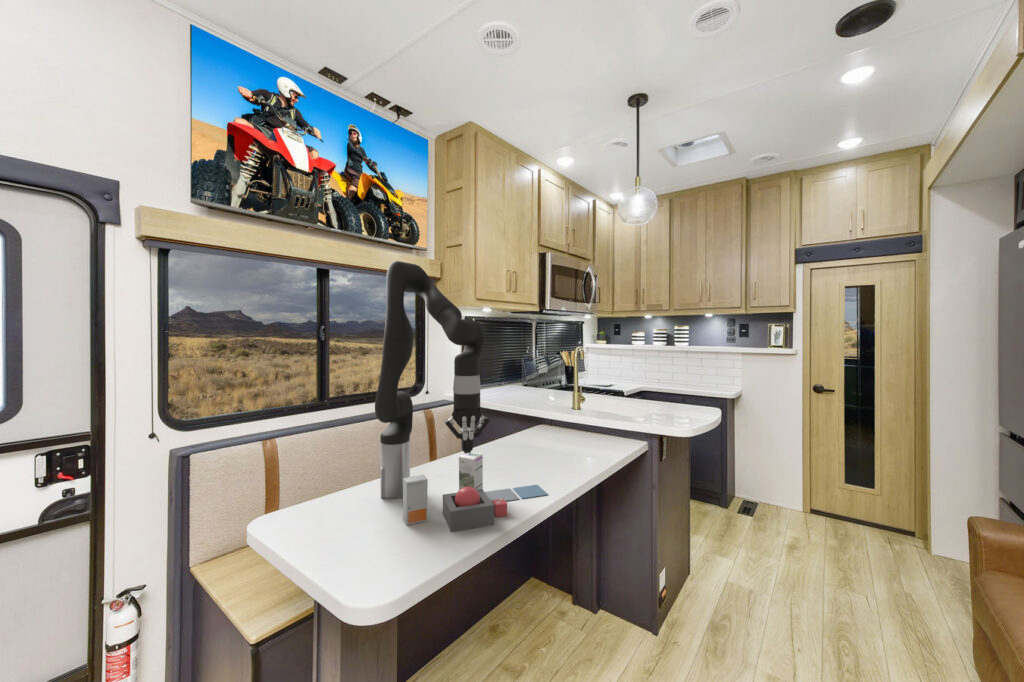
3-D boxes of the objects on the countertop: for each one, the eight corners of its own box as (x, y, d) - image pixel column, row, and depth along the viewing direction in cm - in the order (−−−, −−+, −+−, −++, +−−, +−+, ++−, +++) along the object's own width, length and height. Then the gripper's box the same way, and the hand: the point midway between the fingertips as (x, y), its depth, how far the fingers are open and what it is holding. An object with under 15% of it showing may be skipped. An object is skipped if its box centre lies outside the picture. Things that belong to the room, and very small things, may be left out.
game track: (458, 508, 121) (458, 507, 121) (452, 497, 130) (452, 496, 130) (548, 495, 131) (548, 494, 131) (537, 485, 140) (537, 484, 140)
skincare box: (406, 526, 110) (406, 482, 110) (402, 519, 114) (402, 477, 114) (428, 521, 113) (427, 478, 113) (424, 515, 117) (423, 474, 117)
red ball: (457, 519, 110) (457, 493, 110) (452, 508, 117) (452, 484, 117) (482, 515, 112) (482, 490, 112) (476, 505, 119) (476, 481, 119)
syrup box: (483, 498, 129) (483, 453, 128) (474, 505, 123) (474, 458, 123) (468, 495, 131) (468, 451, 131) (458, 502, 126) (458, 456, 125)
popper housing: (450, 532, 107) (450, 511, 107) (442, 513, 118) (442, 494, 118) (512, 521, 113) (512, 502, 113) (498, 504, 124) (498, 486, 124)
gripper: (445, 394, 108) (446, 458, 108) (493, 391, 113) (493, 453, 113) (441, 390, 115) (441, 451, 116) (486, 388, 120) (486, 446, 120)
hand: (467, 452), depth 114 cm, fingers closed
